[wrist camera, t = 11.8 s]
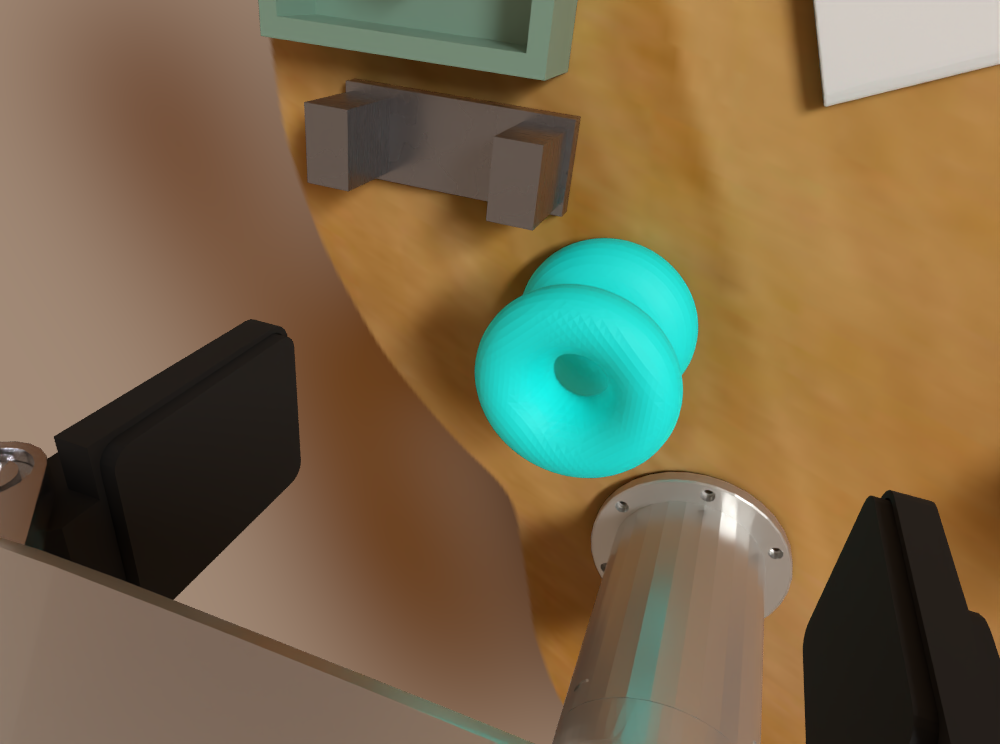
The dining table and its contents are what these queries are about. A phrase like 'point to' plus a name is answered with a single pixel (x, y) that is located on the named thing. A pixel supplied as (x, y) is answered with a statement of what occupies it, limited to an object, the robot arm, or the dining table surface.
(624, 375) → the donuts
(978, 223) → the dining table surface
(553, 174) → the bracket
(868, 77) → the external hard drive
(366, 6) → the tray
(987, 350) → the dining table surface
